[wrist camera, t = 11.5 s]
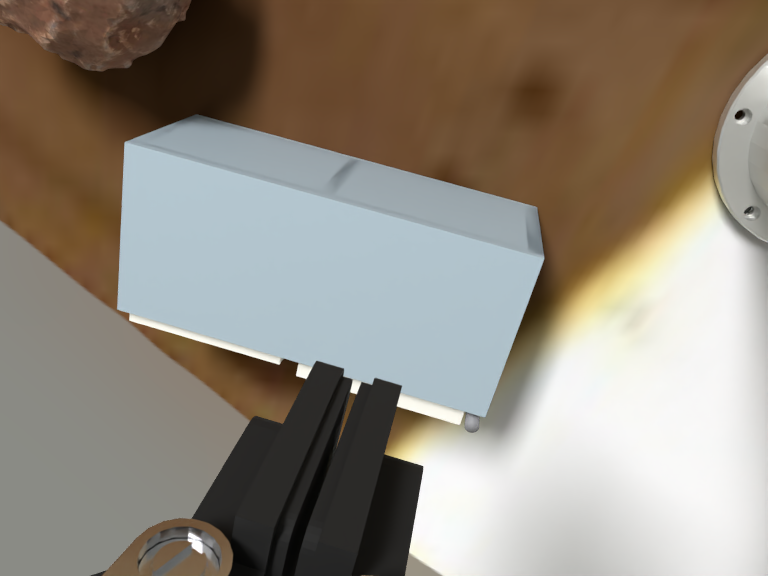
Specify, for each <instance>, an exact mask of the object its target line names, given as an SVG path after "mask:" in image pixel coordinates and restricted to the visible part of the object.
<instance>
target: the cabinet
mask: <svg viewBox="0 0 768 576" xmlns="http://www.w3.org/2000/svg"><path fill="white" fill-rule="evenodd" d="M543 261H544V252H543V245H542V238H541V231H540V224H539V217H538V210H537V207H535V206H531V205H527V204H524V203H520V202H516V201H513V200H509V199H505V198H502V197H498V196H494V195H491V194H487V193H483V192H480V191H476V190H472V189H469V188H465V187H461V186H458V185H454V184H450V183H447V182H443V181H439V180H436V179H432V178H428V177H425V176H421V175H417V174H414V173H410V172H406V171H403V170H399V169H396V168H392V167H388V166H385V165H381V164H377V163H374V162H370V161H366V160H363V159H359V158H355V157H352V156H348V155H344V154H341V153H337V152H333V151H330V150H326V149H322V148H319V147H315V146H311V145H308V144H304V143H300V142H297V141H293V140H289V139H286V138H282V137H278V136H275V135H271V134H267V133H264V132H260V131H256V130H253V129H249V128H245V127H242V126H238V125H234V124H231V123H227V122H223V121H220V120H216V119H212V118H209V117H205V116H201V115H198V114H196V115H193V116H191V117H188V118H186V119H183V120H181V121H178V122H175V123H173V124H170V125H168V126H165V127H163V128H160V129H157V130H155V131H152V132H150V133H147V134H144V135H142V136H139V137H137V138H134V139H132V140H129V141H126V142H125V148H124V170H123V193H122V216H121V239H120V262H119V285H118V308H117V310H121V311H124V312H128V313H130V320H129V321H133V322H136V323H140V324H143V325H146V326H150V327H153V328H157V329H160V330H163V331H167V332H170V333H174V334H177V335H180V336H184V337H187V338H191V339H194V340H197V341H201V342H204V343H207V344H211V345H214V346H218V347H221V348H224V349H228V350H231V351H235V352H238V353H241V354H245V355H248V356H252V357H255V358H258V359H262V360H265V361H269V362H272V363H275V364H280V363H281V361H282V360H283V358H284V359H287V360H291V361H294V362H298V363H301V364H304V365H308V366H311V367H313V365H314V364H315V362H316V361H320V362H324V363H327V364H330V365H334V366H337V367H341V368H344V375H343V376H345V377H349V378H352V379H355V380H359V381H362V382H366V383H369V384H373V381H374V378H378V379H381V380H385V381H388V382H392V383H395V384H399V385H402V389H401V393H403V394H406V395H410V396H413V397H417V398H420V399H423V400H427V401H430V402H434V403H437V404H440V405H444V406H447V407H451V408H454V409H457V410H461V411H464V412H468V413H471V414H474V415H478V416H481V417H486V414H487V412H488V409H489V406H490V404H491V401H492V398H493V395H494V393H495V390H496V387H497V385H498V382H499V379H500V377H501V374H502V371H503V369H504V366H505V363H506V361H507V358H508V355H509V352H510V350H511V347H512V344H513V342H514V339H515V336H516V334H517V331H518V328H519V326H520V323H521V320H522V318H523V315H524V312H525V309H526V307H527V304H528V301H529V299H530V296H531V293H532V291H533V288H534V285H535V283H536V280H537V277H538V275H539V272H540V269H541V267H542V264H543Z"/></svg>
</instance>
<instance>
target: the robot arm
mask: <svg viewBox="0 0 768 576" xmlns="http://www.w3.org/2000/svg"><path fill="white" fill-rule="evenodd" d="M739 110H742V112H743V114H742V116H741V117H740V118H738V119H735V114H736V113H737V111H739ZM712 163H713V171H714V180H715V183H716V185H717V188H718V191H719V194H720V197H721V199H722V201H723V202H724V204H725V205H726V207H727V208H728V210H729V212H730V213H731V215H732V216H733V217H734V218H735V219H736V220H737V221H738V222H739V223H740V224H741V225H742V226H743V227H744V228H746V229H747V230H748V231H749V232H751V233H752V234H753V235H755V236H756V237H757V238H759V239H761V240H763V241H765V242H767V243H768V54H767V55H766V56H765V57H764V58H763V59H762V60H761V61H760V62H759V63H757V64H756V65H755V66H754V67H753V68H752V69H751V70H750V71H749V72H748V73H747V75H746V76H745V77H744V79H743V80H742V81H741V83H740V84H739V85H738V87H737V88H736V89H735V91H734V92H733V93H732V95H731V97H730V99H729V101H728V103H727V105H726V107H725V109H724V111H723V113H722V115H721V117H720V120H719V124H718V127H717V130H716V134H715V137H714V145H713V155H712ZM750 206H751V210H750V211H749V212H747V213H744V211H745V210H746V209H747V208H748V207H750ZM343 375H344V368H341V367H337V366H334V365H330V364H327V363H324V362H320V361H316V362H315V364H314V365H313V367H312V369H311V371H310V373H309V375H308V377H307V379H306V381H305V383H304V385H303V387H302V388H301V390H300V392H299V394H298V396H297V398H296V400H295V402H294V404H293V406H292V408H291V410H290V412H289V413H288V415H287V417H286V419H285V421H284V423H283V424H281V423H278V422H274V421H271V420H268V419H264V418H261V417H258V416H255V417H253V418H252V420H251V421H250V422H249V424H248V426H247V427H246V429H245V431H244V432H243V434H242V436H241V437H240V439H239V441H238V442H237V444H236V446H235V447H234V449H233V451H232V452H231V454H230V456H229V457H228V459H227V461H226V462H225V464H224V466H223V468H222V470H221V471H220V472H219V474H218V476H217V477H216V479H215V481H214V482H213V484H212V486H211V487H210V489H209V491H208V493H207V494H206V496H205V497H204V499H203V501H202V502H201V504H200V506H199V507H198V509H197V511H196V512H195V514H194V516H193V517H192V519H185V518H178V519H172V520H167V521H163V522H161V523H158V524H156V525H154V526H152V527H150V528H148V529H147V530H146V531H144V532H143V533H142V534H141V535H139V536H138V537H137V538H136V539H135V540H134V541H133V542H132V543H131V544H130V546H129V547H128V548H127V549H126V550H125V551H124V552H123V553H122V554H121V555H120V557H119V558H118V559H117V560H116V561H115V562H114V563H113V564H112V565H111V566H110V567H109V568H108V569H107V570H106V571H103V572H101V573H98V574H94V575H91V576H405V571H406V565H407V560H408V554H409V548H410V543H411V537H412V531H413V525H414V520H415V514H416V508H417V503H418V497H419V491H420V485H421V480H422V474H423V466H421V465H418V464H414V463H411V462H408V461H404V460H401V459H398V458H394V457H391V456H388V455H384V453H385V449H386V445H387V441H388V438H389V434H390V430H391V426H392V423H393V419H394V415H395V411H396V408H397V404H398V400H399V396H400V393H401V389H402V385H399V384H395V383H392V382H388V381H385V380H381V379H378V378H374V381H373V384H372V385H371V384H368V383H364V382H361V384H360V387H359V390H358V392H357V395H356V398H355V400H354V403H353V406H352V408H351V411H350V414H349V416H348V419H347V422H346V424H345V427H344V430H343V432H342V435H341V438H340V440H339V443H338V439H339V435H340V431H341V427H342V423H343V419H344V415H345V411H346V407H347V403H348V399H349V395H350V391H351V387H352V382H353V379H351V378H347V377H344V376H343ZM337 443H338V446H337ZM336 447H337V449H336Z"/></svg>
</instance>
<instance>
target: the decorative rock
mask: <svg viewBox="0 0 768 576" xmlns="http://www.w3.org/2000/svg"><path fill="white" fill-rule="evenodd" d="M190 3H191V0H0V24H1V25H4V26H8V27H10V28H12V29H13V30H15V31H17V32H20V33H26V34H29V35H30V36H31V37H32V38H33V39H34V40H35V41H36V42H37V43H39V44H40V45H41V46H42V47H43V49H45V50H47V51H50V52H53V53H57V54H58V55H59V56H60V57H61V58H62V59H65V60H67V61H70V62H73V63H75V64H77V65H79V66H80V67H82V68H83V69H87V70H93V71H105V70H107V69H111V68H128V67H130V66H131V65H132V62H133V60H135V59H136V58H138V57H140V56H144V55H147V54H149V53H151V52H153V51H154V50H156V49H157V48H159V47H160V46H161V45H162V43H163V42H164V40H165V39H166V37H167V36H168V34H169V33H170V31H171V30H172V28H173V27H174V25H175V24H176V23H177V22H179V21H185V17H186V11H187V10H188V8H189V5H190Z"/></svg>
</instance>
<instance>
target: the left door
mask: <svg viewBox="0 0 768 576" xmlns="http://www.w3.org/2000/svg"><path fill="white" fill-rule="evenodd" d="M311 369H312V367H311V366H308V365H304V364H301V363H299V364H298V368H297V373H296V376H298V377H302V378H305V379H307V377H308V375H309V373H310V371H311ZM344 377H345V376H344ZM347 378H349V377H347ZM351 379H352V378H351ZM361 382H362V381H359V380H355V379H353V382H352V387H351V391H350V392H351V393H355V394H357V392H358V390H359V387H360V384H361ZM364 383H366V382H364ZM368 384H369V383H368ZM371 385H372V384H371ZM397 406H398V407H401V408H404V409H408V410H411V411H414V412H418V413H421V414H424V415H428V416H431V417H434V418H437V419H441V420H444V421H447V422H451V423H454V424H457V425H460V423H461V420H462V417H463V415H464V411H461V410H457V409H454V408H451V407H447V406H444V405H440V404H437V403H434V402H430V401H427V400H423V399H420V398H417V397H413V396H410V395H406V394H403V393H400V396H399V400H398V404H397ZM479 417H480V416H478V415H474V414H471V413H468V412H466V418H465V429H466V430H467V431H468V432H471V433H473V432H476V431H477V430H478V429H479Z"/></svg>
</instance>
